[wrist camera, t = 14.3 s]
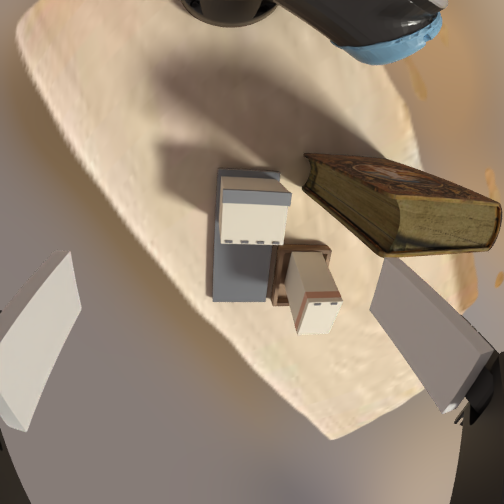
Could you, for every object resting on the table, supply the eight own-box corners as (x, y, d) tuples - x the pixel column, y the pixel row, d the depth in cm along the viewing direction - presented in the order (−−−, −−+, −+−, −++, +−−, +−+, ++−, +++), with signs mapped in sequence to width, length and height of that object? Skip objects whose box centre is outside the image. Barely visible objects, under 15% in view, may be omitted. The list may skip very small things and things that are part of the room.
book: (392, 159, 46) (505, 203, 24) (389, 190, 49) (494, 250, 26) (300, 152, 44) (389, 194, 22) (299, 187, 47) (379, 258, 24)
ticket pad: (220, 176, 43) (223, 189, 35) (277, 179, 44) (291, 193, 37) (218, 222, 46) (220, 245, 38) (272, 224, 47) (284, 247, 40)
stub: (291, 251, 49) (309, 303, 40) (321, 252, 49) (343, 302, 41) (283, 284, 53) (297, 336, 44) (311, 284, 54) (329, 334, 45)
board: (217, 167, 44) (218, 169, 43) (278, 171, 45) (280, 172, 44) (212, 297, 53) (212, 301, 52) (264, 298, 54) (265, 301, 53)
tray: (278, 243, 50) (280, 249, 48) (327, 245, 51) (331, 250, 50) (270, 299, 54) (273, 306, 53) (316, 298, 56) (320, 305, 54)
